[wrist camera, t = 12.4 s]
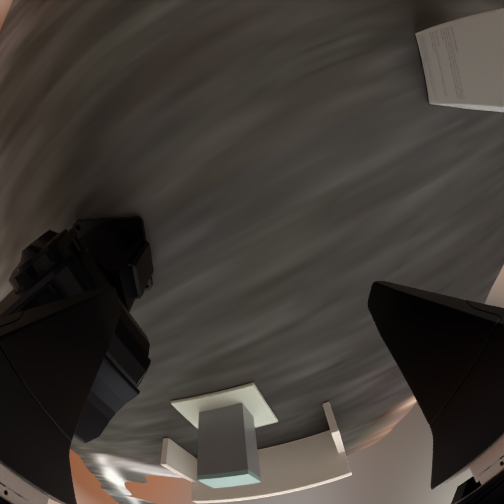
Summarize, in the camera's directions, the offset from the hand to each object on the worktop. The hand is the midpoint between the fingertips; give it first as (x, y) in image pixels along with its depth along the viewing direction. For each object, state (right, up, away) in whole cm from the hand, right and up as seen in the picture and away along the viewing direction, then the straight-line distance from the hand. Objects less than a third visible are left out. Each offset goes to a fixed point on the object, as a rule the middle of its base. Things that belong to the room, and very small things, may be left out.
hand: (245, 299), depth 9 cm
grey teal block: (-3, -20, +23) cm, 30 cm away
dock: (0, -28, +27) cm, 39 cm away
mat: (-3, -19, +23) cm, 30 cm away
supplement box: (+19, +19, +8) cm, 27 cm away
